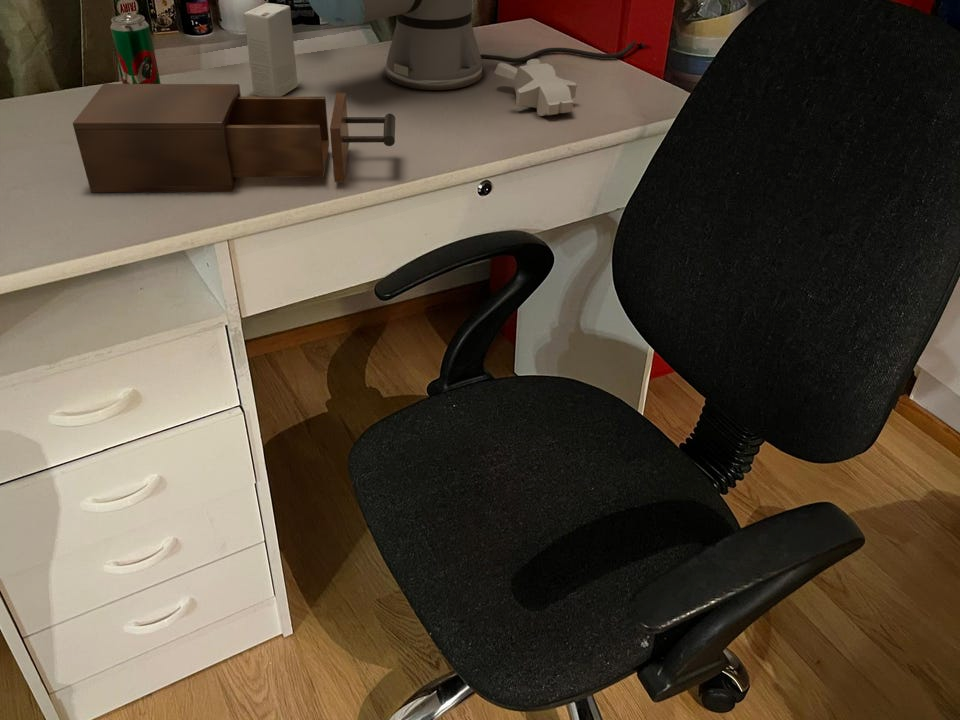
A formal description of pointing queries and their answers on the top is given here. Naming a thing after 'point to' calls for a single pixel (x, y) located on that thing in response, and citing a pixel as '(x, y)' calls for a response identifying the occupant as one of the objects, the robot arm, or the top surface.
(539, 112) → the white blocky figurine
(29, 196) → the top surface
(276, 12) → the cosmetic box
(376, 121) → the drawer
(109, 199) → the top surface
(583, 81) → the top surface
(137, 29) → the soda can
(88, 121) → the cabinet
